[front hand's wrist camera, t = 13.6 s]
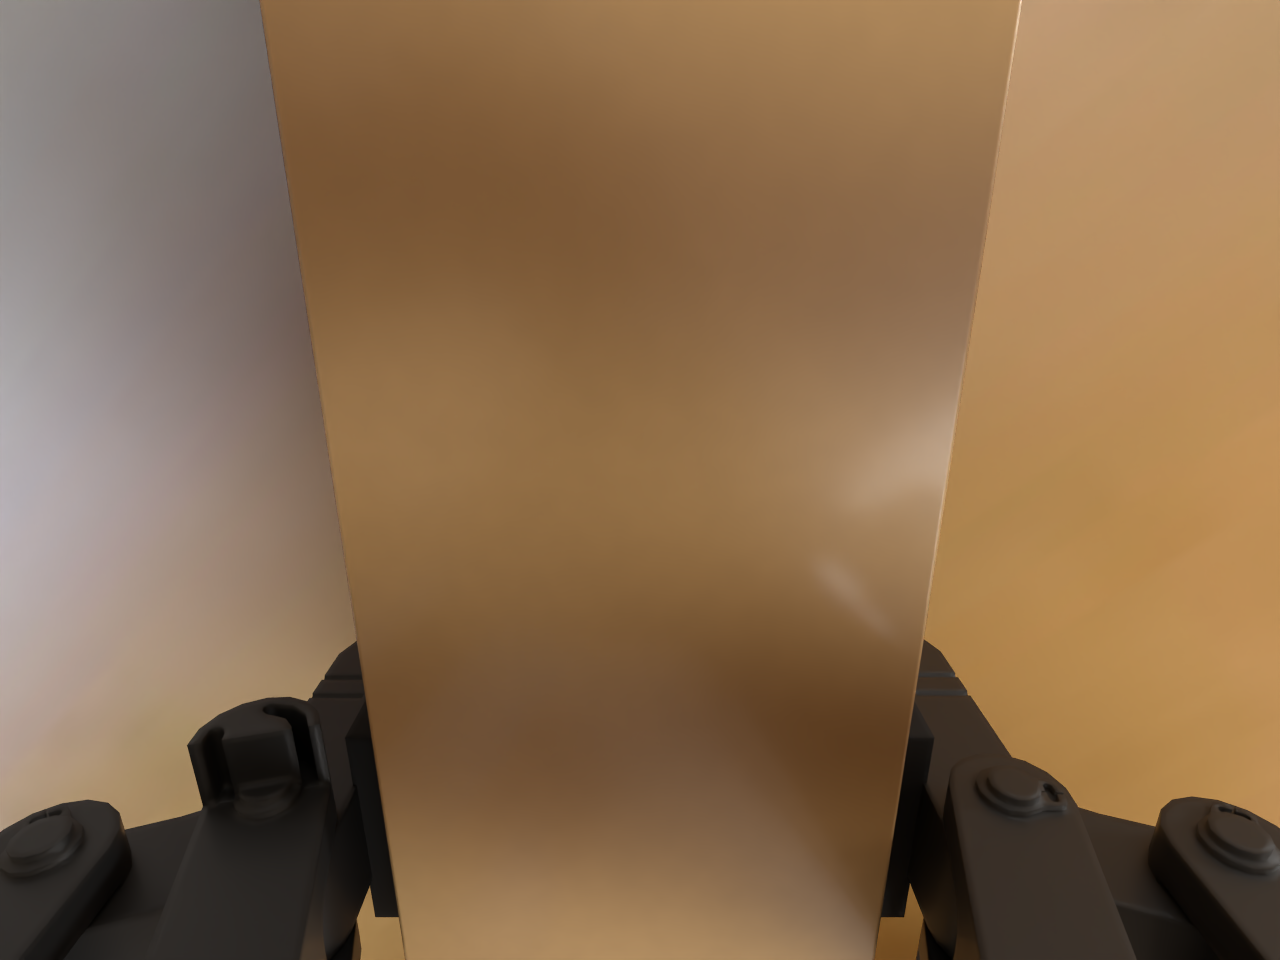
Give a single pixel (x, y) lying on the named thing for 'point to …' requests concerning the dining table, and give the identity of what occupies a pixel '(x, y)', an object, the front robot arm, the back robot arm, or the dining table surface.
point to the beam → (640, 441)
